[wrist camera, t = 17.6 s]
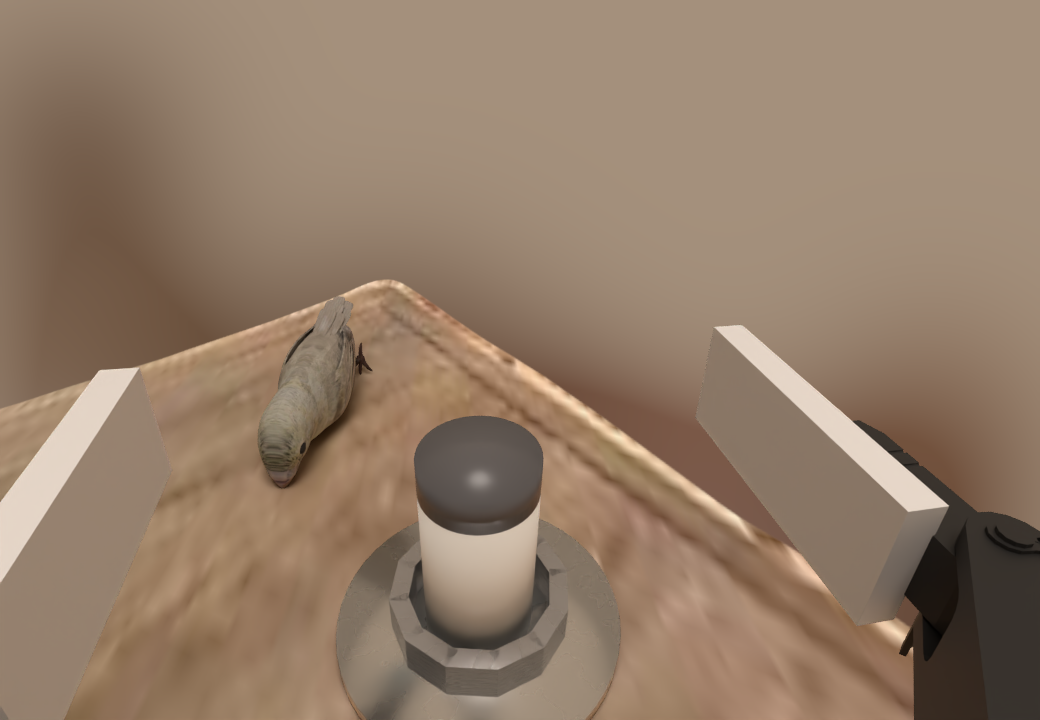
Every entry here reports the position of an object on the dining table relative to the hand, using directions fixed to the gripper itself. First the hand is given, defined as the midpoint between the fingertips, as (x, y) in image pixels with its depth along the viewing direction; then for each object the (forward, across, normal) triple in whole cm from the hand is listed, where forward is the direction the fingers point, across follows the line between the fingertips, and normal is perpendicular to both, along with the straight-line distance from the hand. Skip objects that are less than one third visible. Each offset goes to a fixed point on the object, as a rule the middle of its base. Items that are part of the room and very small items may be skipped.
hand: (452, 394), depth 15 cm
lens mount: (+11, +2, -23) cm, 26 cm away
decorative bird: (+32, -8, -22) cm, 40 cm away
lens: (+11, +2, -22) cm, 25 cm away
